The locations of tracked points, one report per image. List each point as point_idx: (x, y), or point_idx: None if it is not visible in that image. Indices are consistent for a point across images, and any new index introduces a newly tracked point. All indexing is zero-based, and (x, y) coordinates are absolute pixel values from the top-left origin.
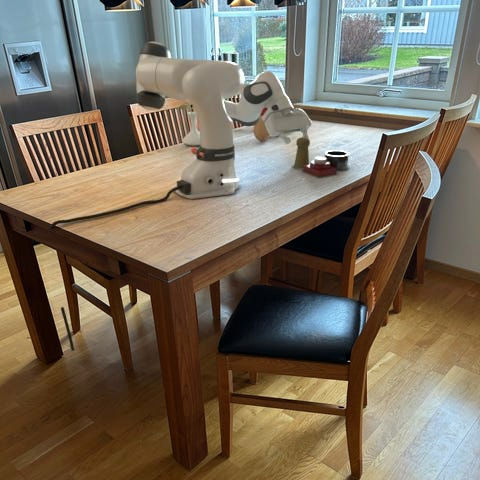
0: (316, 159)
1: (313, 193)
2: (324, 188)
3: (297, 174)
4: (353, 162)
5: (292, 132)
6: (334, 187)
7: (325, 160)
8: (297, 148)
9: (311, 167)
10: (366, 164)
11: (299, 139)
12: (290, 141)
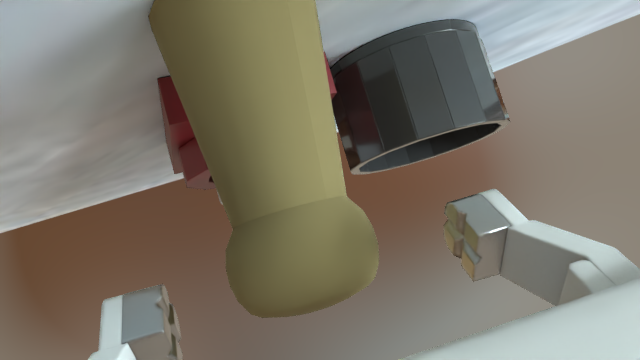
0: (221, 202)
1: (11, 218)
2: (92, 194)
3: (63, 112)
4: (573, 16)
5: (425, 354)
6: (140, 186)
7: None
8: (232, 208)
9: (179, 154)
10: (548, 47)
11: (258, 315)
12: (172, 317)
